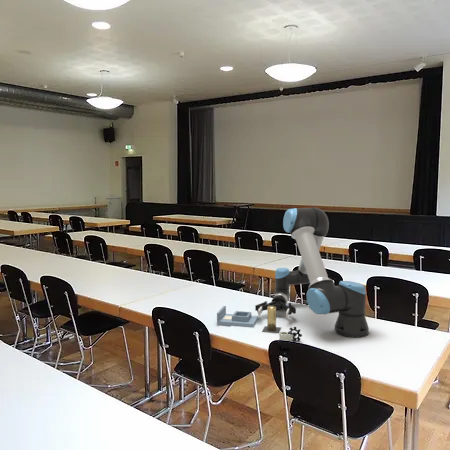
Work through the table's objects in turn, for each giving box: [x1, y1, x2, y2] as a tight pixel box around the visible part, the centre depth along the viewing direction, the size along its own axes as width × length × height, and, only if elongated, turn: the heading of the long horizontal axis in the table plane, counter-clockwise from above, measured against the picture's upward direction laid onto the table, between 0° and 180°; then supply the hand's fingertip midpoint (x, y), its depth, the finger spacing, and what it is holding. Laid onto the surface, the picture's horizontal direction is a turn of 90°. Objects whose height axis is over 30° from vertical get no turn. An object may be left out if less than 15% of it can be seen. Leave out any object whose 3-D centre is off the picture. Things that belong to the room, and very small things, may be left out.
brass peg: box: [266, 306, 277, 331], centre depth 203 cm, size 4×4×11 cm
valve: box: [278, 326, 303, 342], centre depth 185 cm, size 7×7×12 cm
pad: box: [261, 325, 282, 334], centre depth 203 cm, size 8×8×1 cm
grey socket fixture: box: [216, 305, 259, 328], centre depth 214 cm, size 18×12×6 cm, turn 75°
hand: (272, 314), depth 208 cm, fingers open, 13 cm apart
